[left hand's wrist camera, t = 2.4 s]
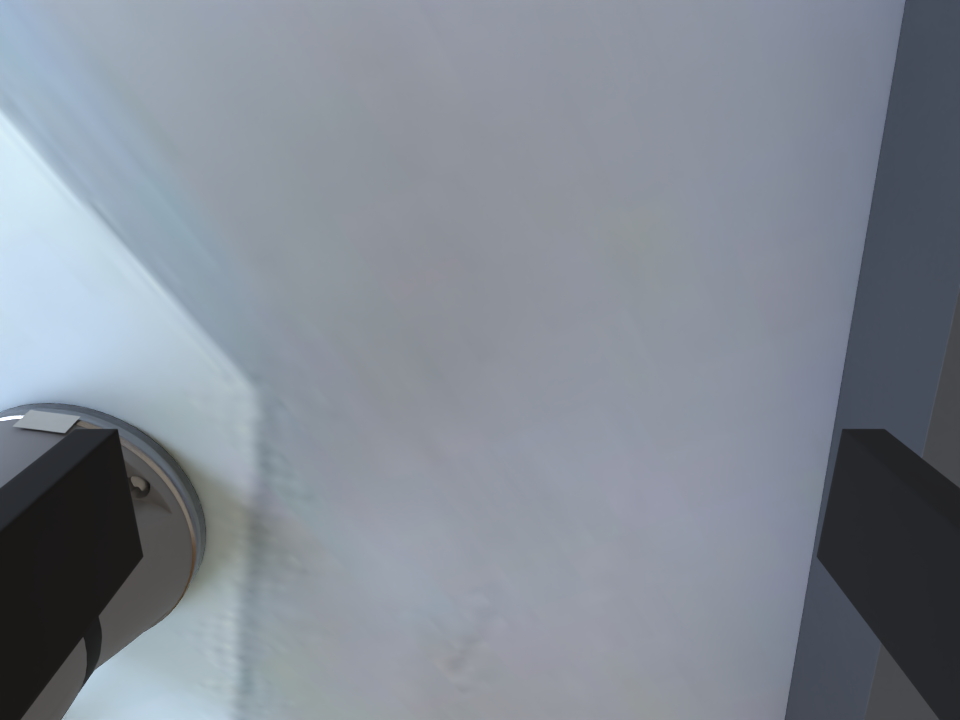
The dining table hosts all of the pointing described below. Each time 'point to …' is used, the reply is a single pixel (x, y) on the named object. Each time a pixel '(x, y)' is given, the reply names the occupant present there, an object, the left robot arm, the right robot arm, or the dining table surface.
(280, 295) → the dining table surface
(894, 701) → the beam
